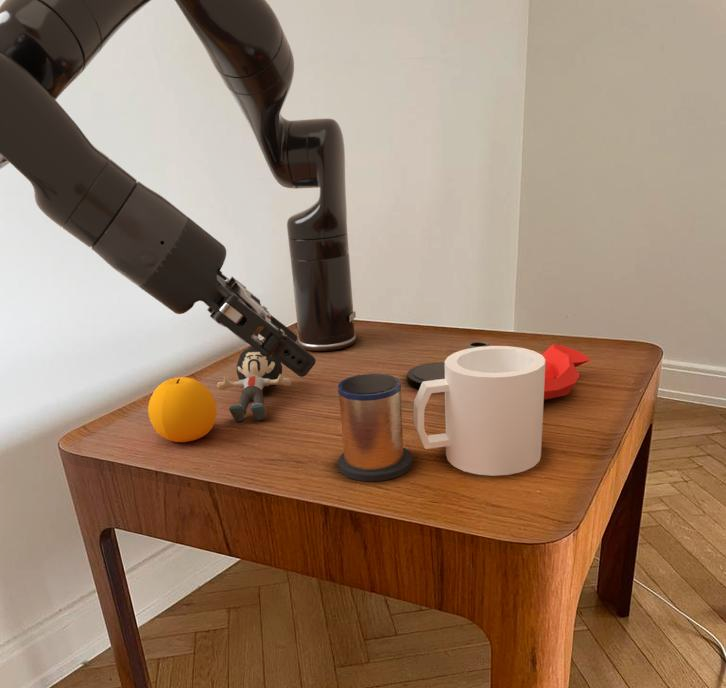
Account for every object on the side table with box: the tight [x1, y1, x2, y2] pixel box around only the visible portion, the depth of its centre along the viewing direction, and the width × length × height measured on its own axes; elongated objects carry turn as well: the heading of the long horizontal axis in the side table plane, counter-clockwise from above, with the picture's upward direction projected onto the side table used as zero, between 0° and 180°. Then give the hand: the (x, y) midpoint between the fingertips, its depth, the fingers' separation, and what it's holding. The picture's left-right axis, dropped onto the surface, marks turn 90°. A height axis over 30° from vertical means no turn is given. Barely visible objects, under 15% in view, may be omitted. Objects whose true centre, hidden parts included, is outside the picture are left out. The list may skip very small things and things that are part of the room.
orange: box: [147, 376, 218, 443], centre depth 90 cm, size 8×8×8 cm
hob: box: [406, 361, 445, 391], centre depth 103 cm, size 9×9×1 cm
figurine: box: [217, 345, 292, 422], centre depth 100 cm, size 10×7×15 cm
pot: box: [337, 373, 404, 471], centre depth 79 cm, size 6×6×8 cm
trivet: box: [337, 447, 413, 482], centre depth 81 cm, size 8×8×1 cm
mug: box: [412, 345, 546, 477], centre depth 79 cm, size 14×10×11 cm
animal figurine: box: [541, 343, 592, 400], centre depth 97 cm, size 12×15×5 cm
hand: (300, 356), depth 73 cm, fingers open, 8 cm apart
